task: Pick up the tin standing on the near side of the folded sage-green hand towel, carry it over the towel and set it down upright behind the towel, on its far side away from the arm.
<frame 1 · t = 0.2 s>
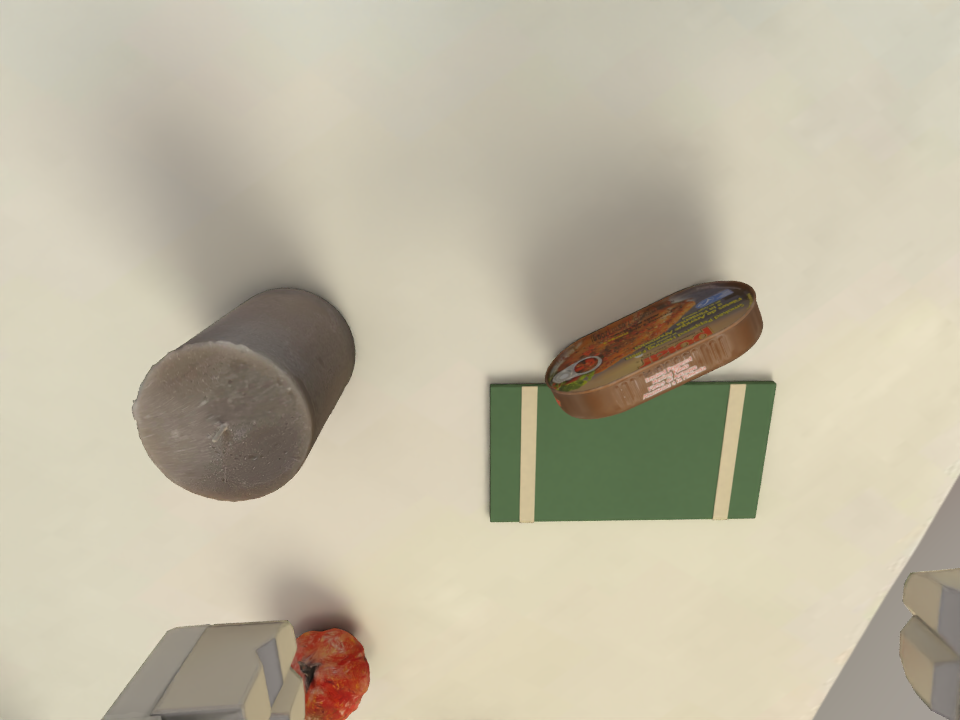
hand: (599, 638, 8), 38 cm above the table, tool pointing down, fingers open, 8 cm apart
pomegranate: (334, 644, 56), on the table
tin: (635, 331, 47), on the table
pillar candle: (291, 348, 47), on the table
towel: (626, 452, 50), on the table
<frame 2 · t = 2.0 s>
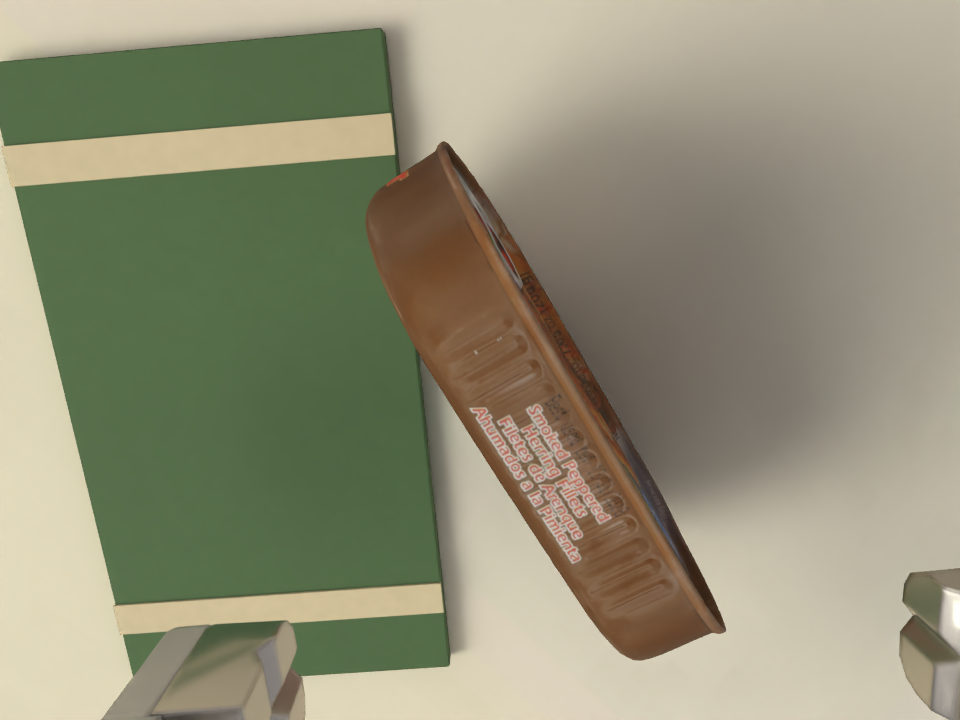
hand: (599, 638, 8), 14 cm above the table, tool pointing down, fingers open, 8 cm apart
tin: (537, 370, 22), on the table
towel: (249, 394, 22), on the table
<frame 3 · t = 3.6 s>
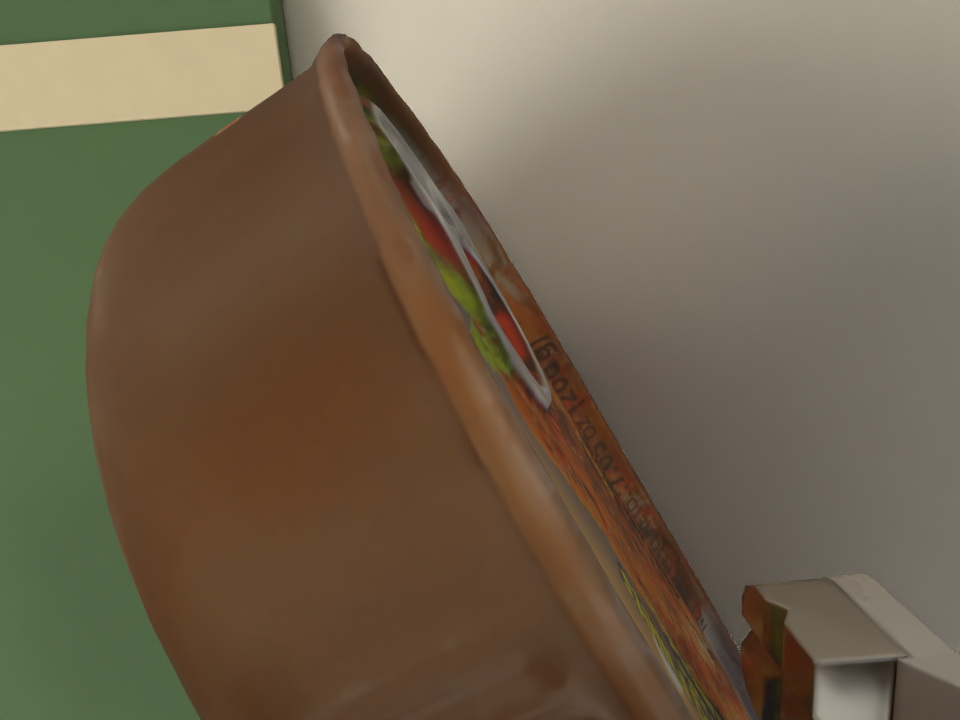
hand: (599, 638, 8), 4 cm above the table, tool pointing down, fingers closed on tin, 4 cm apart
tin: (559, 505, 12), on the table, touching gripper
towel: (41, 548, 12), on the table
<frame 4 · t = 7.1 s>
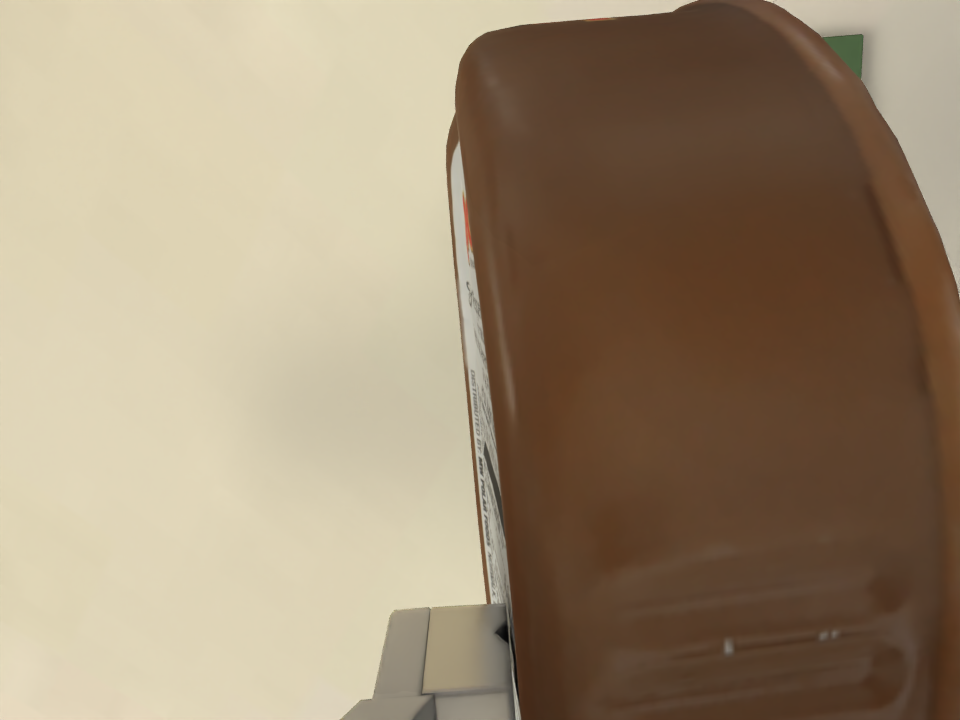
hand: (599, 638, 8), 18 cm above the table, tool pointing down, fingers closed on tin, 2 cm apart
tin: (529, 515, 12), point 14 cm above the table, touching gripper
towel: (696, 334, 26), on the table
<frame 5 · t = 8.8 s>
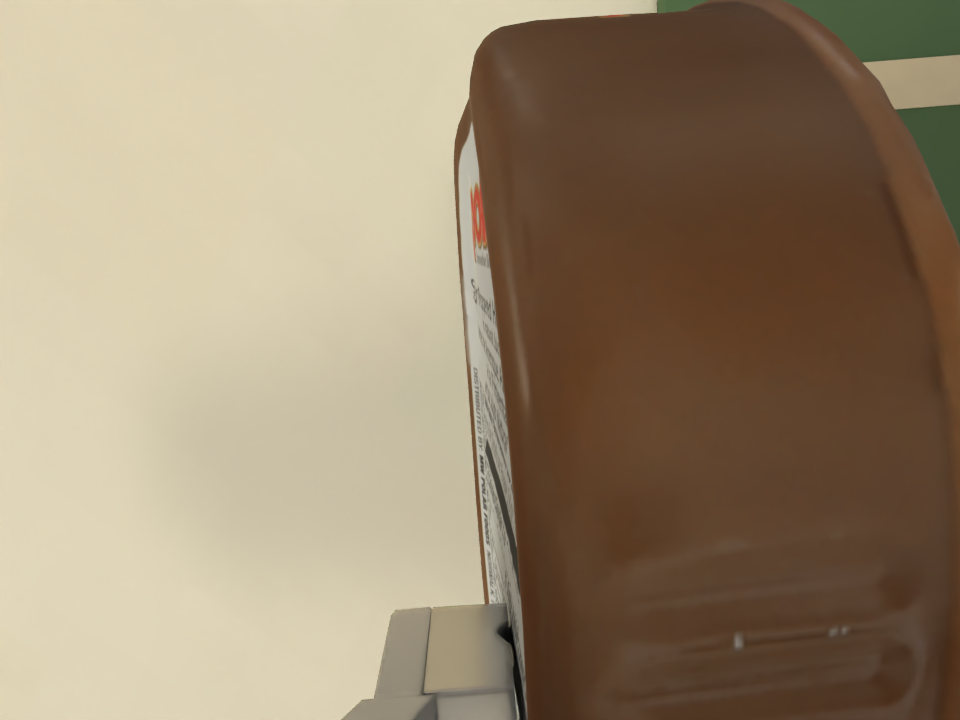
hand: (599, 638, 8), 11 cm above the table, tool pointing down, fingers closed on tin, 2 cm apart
tin: (528, 515, 12), point 7 cm above the table, touching gripper
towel: (863, 377, 19), on the table
when the fingers open (4 cm above the table, at t = 10.5 s): tin stays where it is, on the table.
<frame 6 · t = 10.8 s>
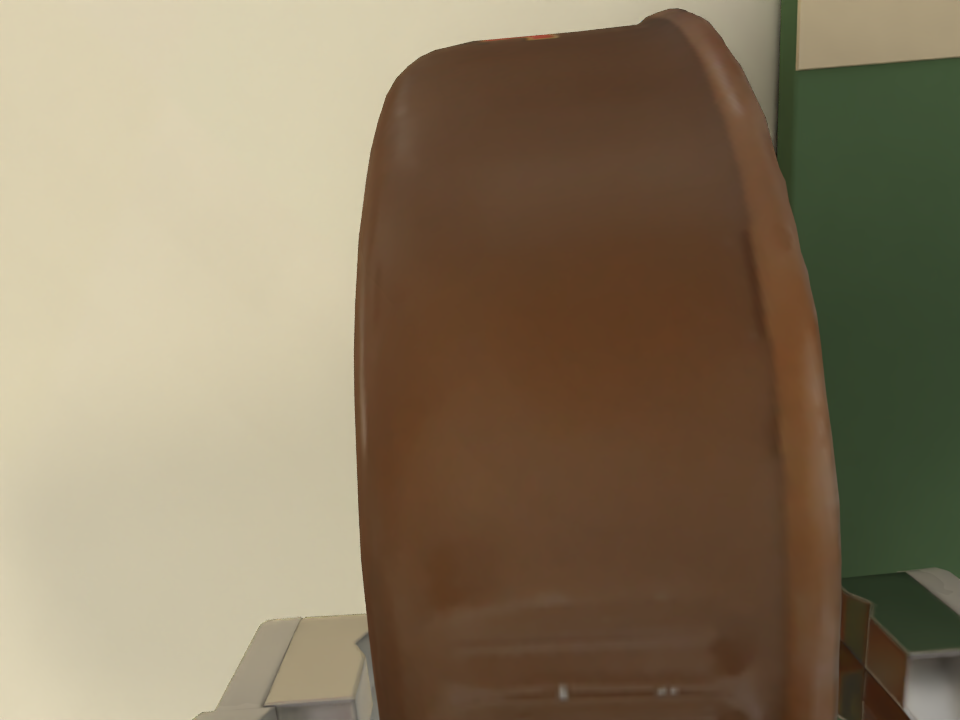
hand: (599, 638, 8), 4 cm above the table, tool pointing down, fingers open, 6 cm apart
tin: (532, 514, 12), on the table
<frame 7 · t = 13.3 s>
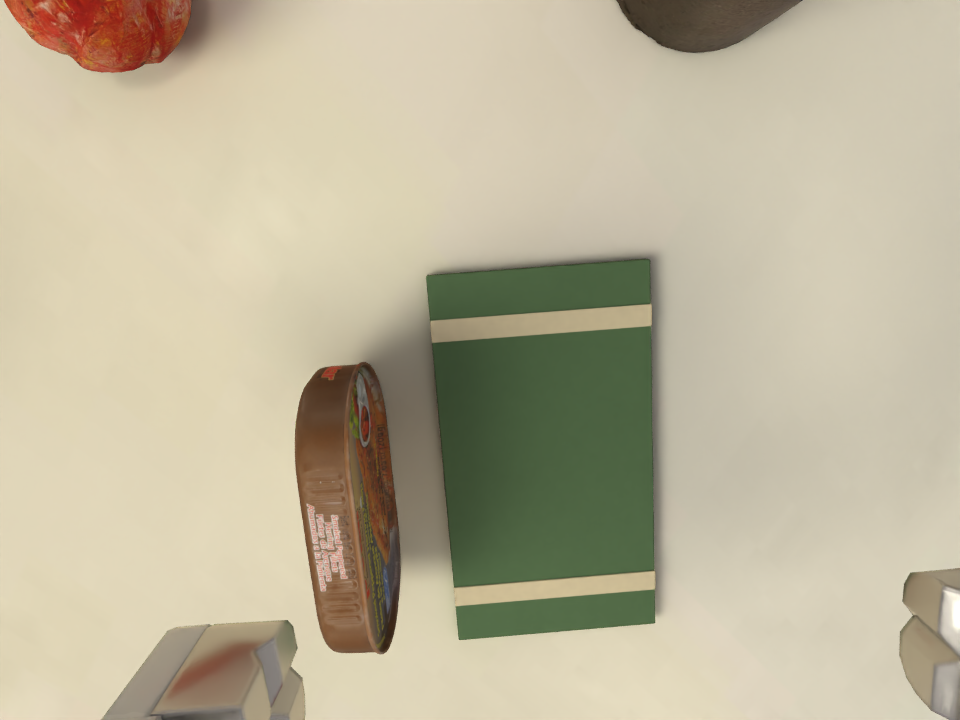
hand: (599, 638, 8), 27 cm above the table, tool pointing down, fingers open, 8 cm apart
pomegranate: (137, 8, 31), on the table
tin: (366, 475, 36), on the table
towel: (547, 458, 36), on the table
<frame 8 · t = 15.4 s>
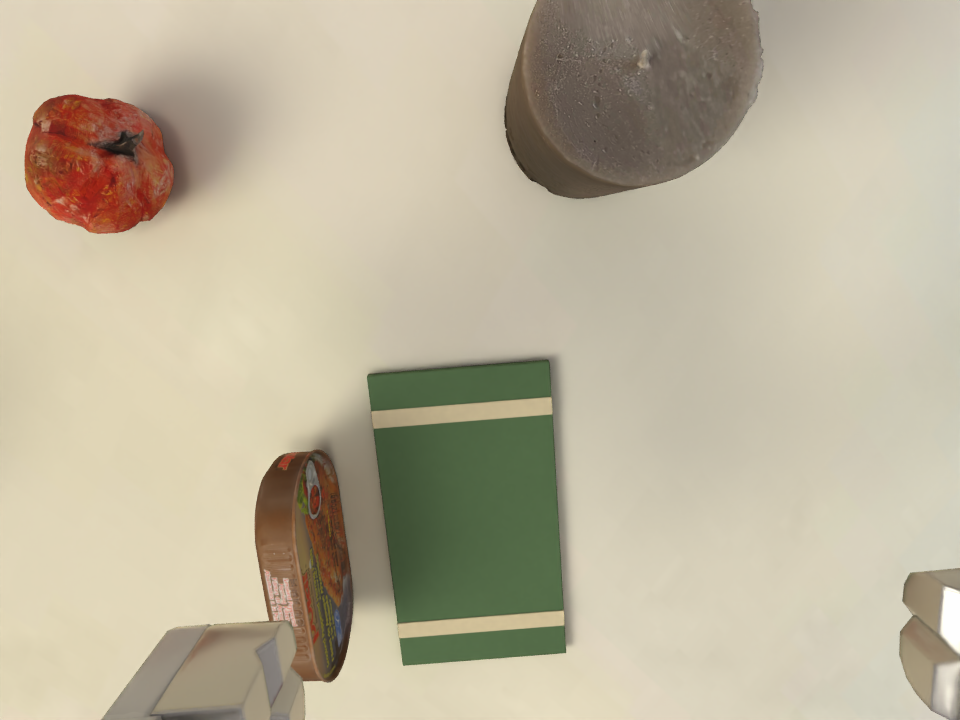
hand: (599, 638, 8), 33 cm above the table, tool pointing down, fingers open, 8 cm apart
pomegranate: (132, 171, 39), on the table
tin: (324, 532, 44), on the table
pillar candle: (583, 116, 38), on the table
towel: (471, 518, 44), on the table
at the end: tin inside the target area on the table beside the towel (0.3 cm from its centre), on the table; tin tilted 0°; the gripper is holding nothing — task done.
